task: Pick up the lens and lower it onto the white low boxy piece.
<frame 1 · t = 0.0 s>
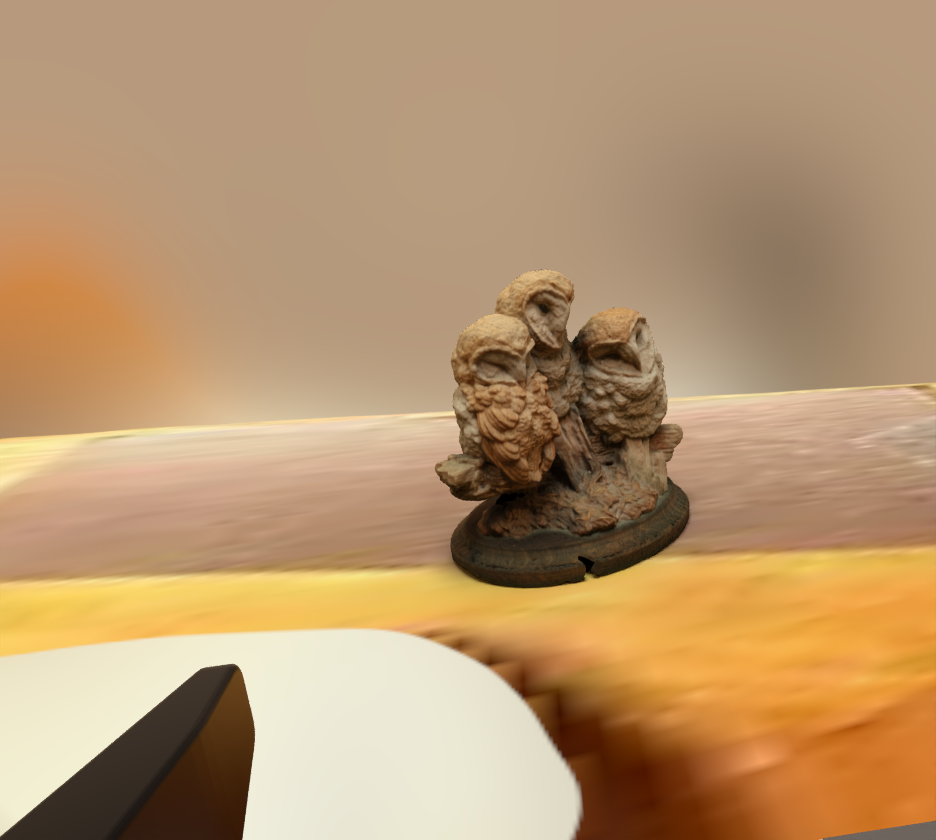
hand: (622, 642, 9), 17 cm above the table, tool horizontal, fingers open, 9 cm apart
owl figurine: (568, 536, 47), on the table
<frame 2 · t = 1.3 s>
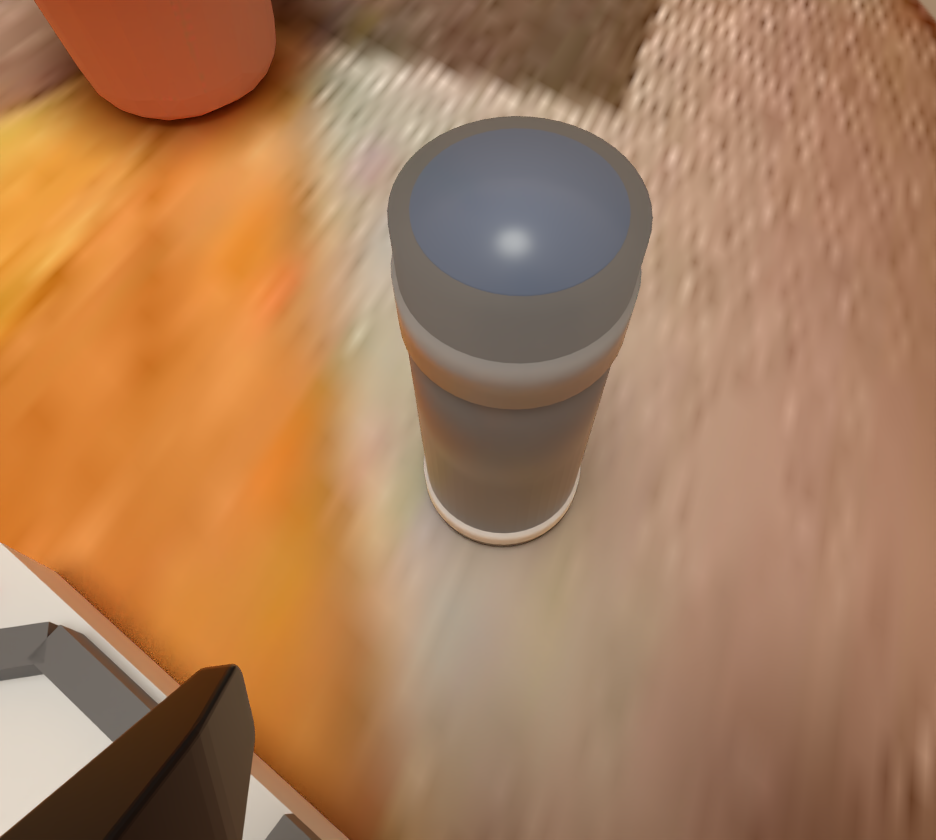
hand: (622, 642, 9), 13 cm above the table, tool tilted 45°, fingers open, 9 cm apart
decorative flower: (200, 65, 35), on the table
lens: (500, 477, 24), on the table
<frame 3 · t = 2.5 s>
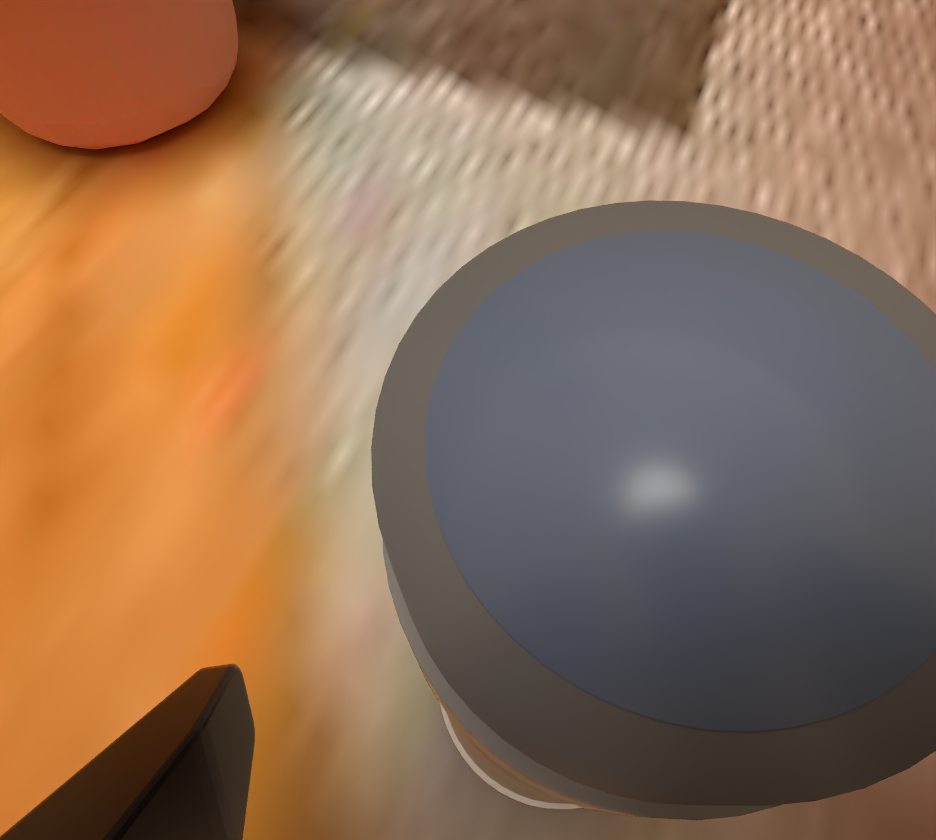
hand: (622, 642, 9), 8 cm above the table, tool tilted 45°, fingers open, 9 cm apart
decorative flower: (142, 76, 27), on the table
lens: (550, 684, 16), on the table
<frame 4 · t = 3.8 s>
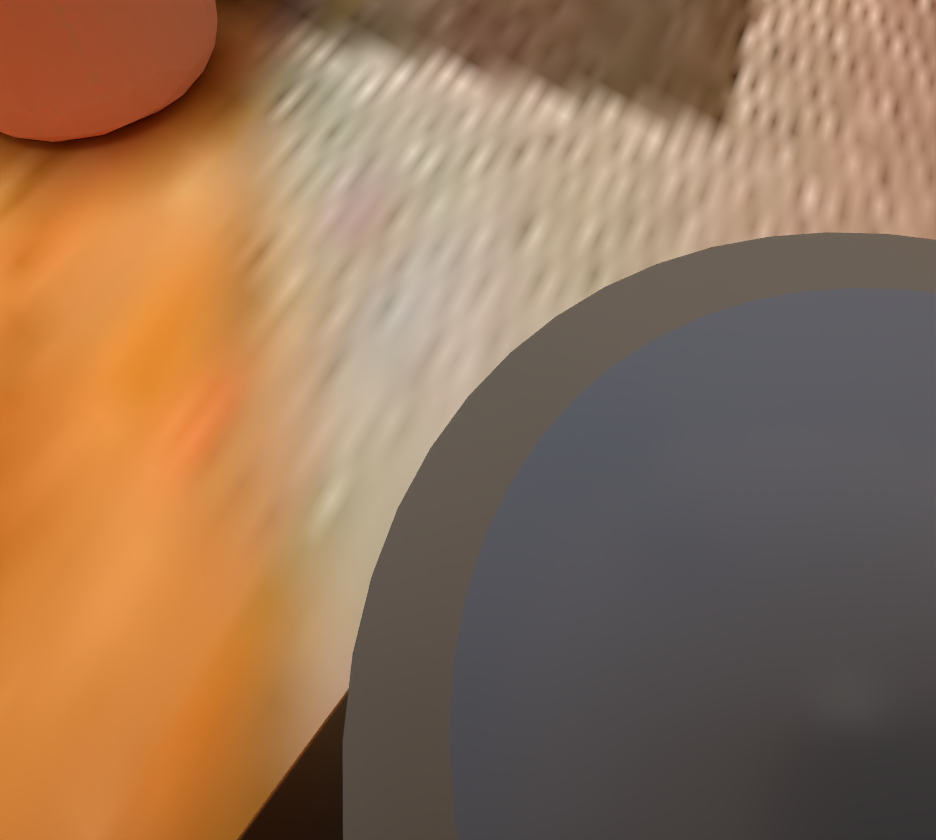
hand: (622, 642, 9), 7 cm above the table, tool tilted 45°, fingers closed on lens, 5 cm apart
decorative flower: (111, 59, 24), on the table
lens: (577, 780, 14), on the table, touching gripper
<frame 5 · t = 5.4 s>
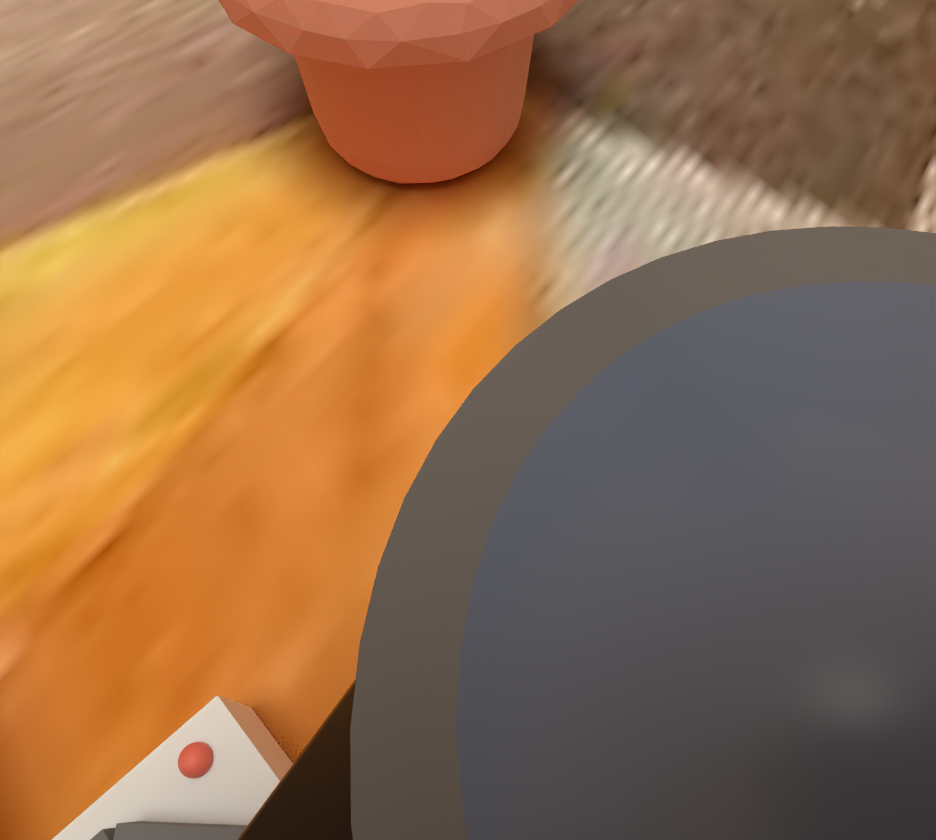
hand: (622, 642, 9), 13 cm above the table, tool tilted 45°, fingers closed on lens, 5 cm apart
decorative flower: (432, 120, 32), on the table
lens: (578, 778, 14), point 7 cm above the table, touching gripper
when the fingers open (11 cm above the table, at t = 7.1 s): lens drops 1 cm, resting on white low boxy piece.
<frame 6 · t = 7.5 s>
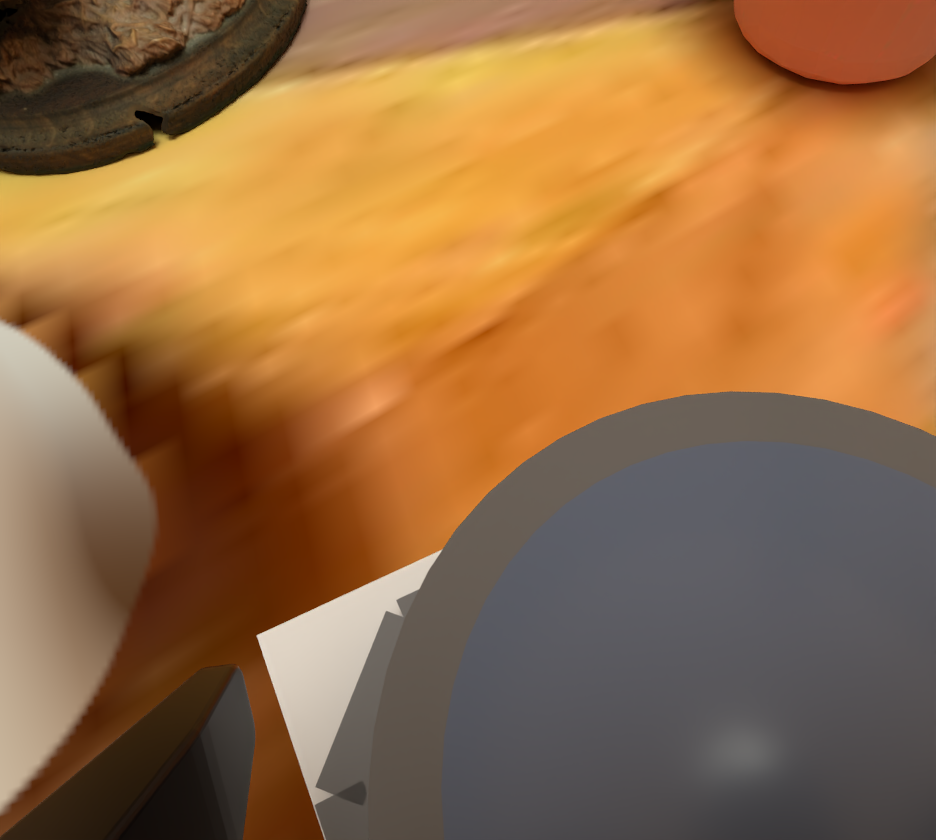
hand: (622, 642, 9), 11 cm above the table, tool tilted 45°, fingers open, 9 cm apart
decorative flower: (839, 30, 31), on the table
white low boxy piece: (571, 816, 17), on the table
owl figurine: (132, 59, 31), on the table
lens: (568, 782, 15), point 3 cm above the table, touching white low boxy piece
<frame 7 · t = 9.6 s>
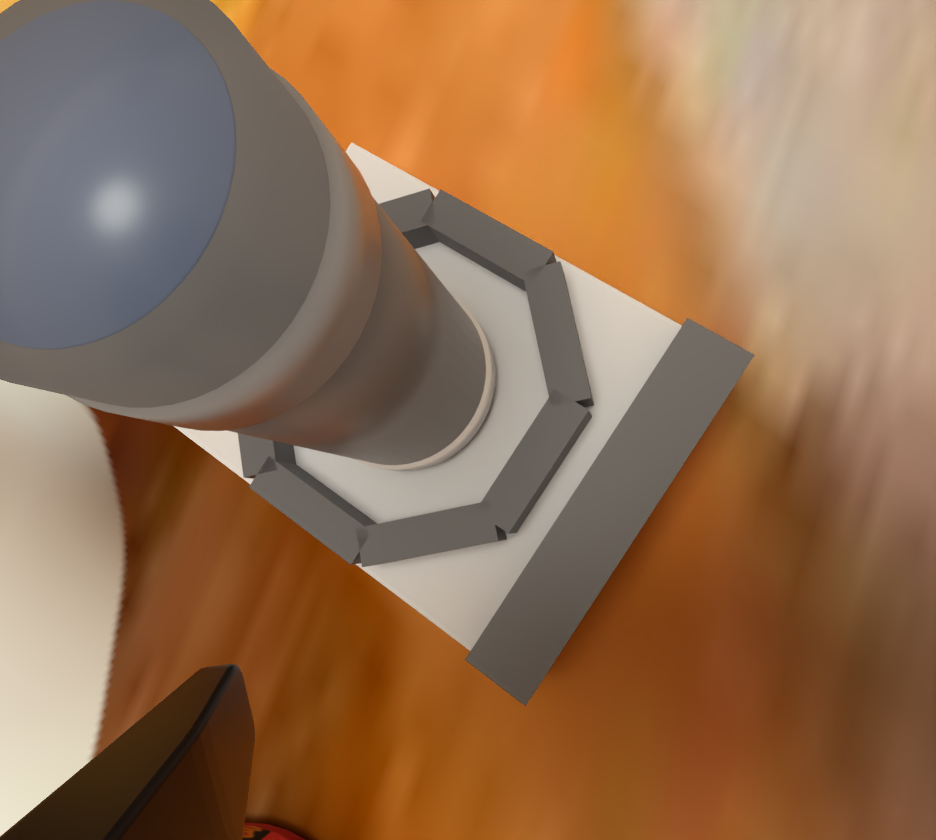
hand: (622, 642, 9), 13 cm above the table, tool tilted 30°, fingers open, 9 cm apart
white low boxy piece: (460, 412, 23), on the table
lens: (410, 382, 20), point 3 cm above the table, touching white low boxy piece
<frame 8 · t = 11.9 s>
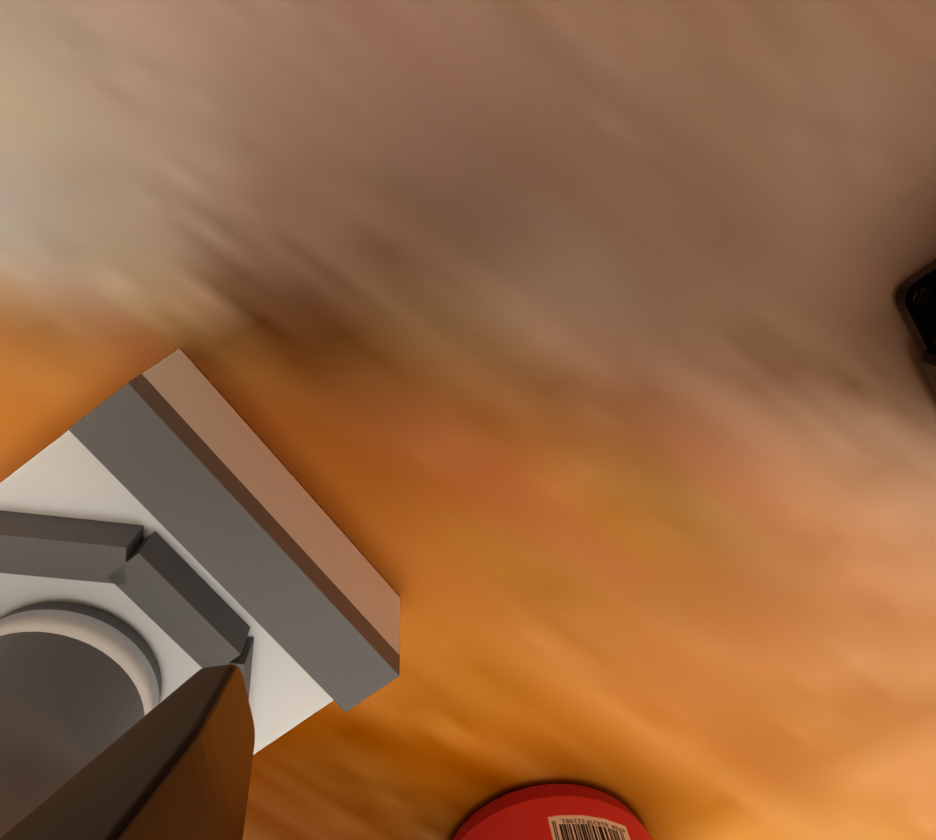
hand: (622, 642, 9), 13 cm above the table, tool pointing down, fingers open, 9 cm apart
white low boxy piece: (131, 602, 22), on the table
lens: (68, 680, 19), point 3 cm above the table, touching white low boxy piece
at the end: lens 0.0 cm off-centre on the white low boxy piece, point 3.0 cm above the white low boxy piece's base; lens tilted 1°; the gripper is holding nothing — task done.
